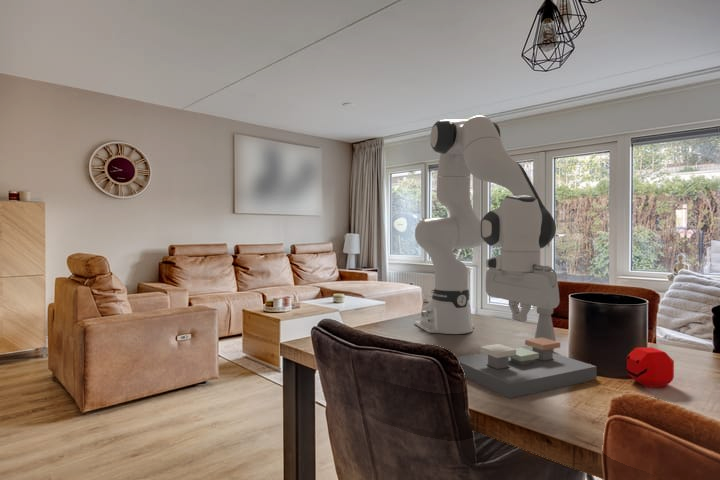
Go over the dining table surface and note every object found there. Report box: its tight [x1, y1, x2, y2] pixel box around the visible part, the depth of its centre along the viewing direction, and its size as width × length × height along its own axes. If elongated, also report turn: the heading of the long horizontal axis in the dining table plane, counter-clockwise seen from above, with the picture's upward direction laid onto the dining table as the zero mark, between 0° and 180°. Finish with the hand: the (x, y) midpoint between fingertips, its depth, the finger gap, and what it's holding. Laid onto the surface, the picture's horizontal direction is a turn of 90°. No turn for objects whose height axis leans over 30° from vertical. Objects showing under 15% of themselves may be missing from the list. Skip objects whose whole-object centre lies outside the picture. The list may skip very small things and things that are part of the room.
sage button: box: [508, 346, 539, 365], centre depth 102 cm, size 6×6×4 cm
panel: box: [456, 345, 598, 399], centre depth 102 cm, size 20×26×3 cm
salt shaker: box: [534, 307, 557, 352], centre depth 121 cm, size 6×6×13 cm
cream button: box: [479, 343, 516, 369], centre depth 99 cm, size 6×6×4 cm
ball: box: [626, 346, 675, 388], centre depth 95 cm, size 8×8×8 cm
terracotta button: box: [524, 337, 561, 361], centre depth 105 cm, size 6×6×4 cm
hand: (519, 320), depth 102 cm, fingers closed
